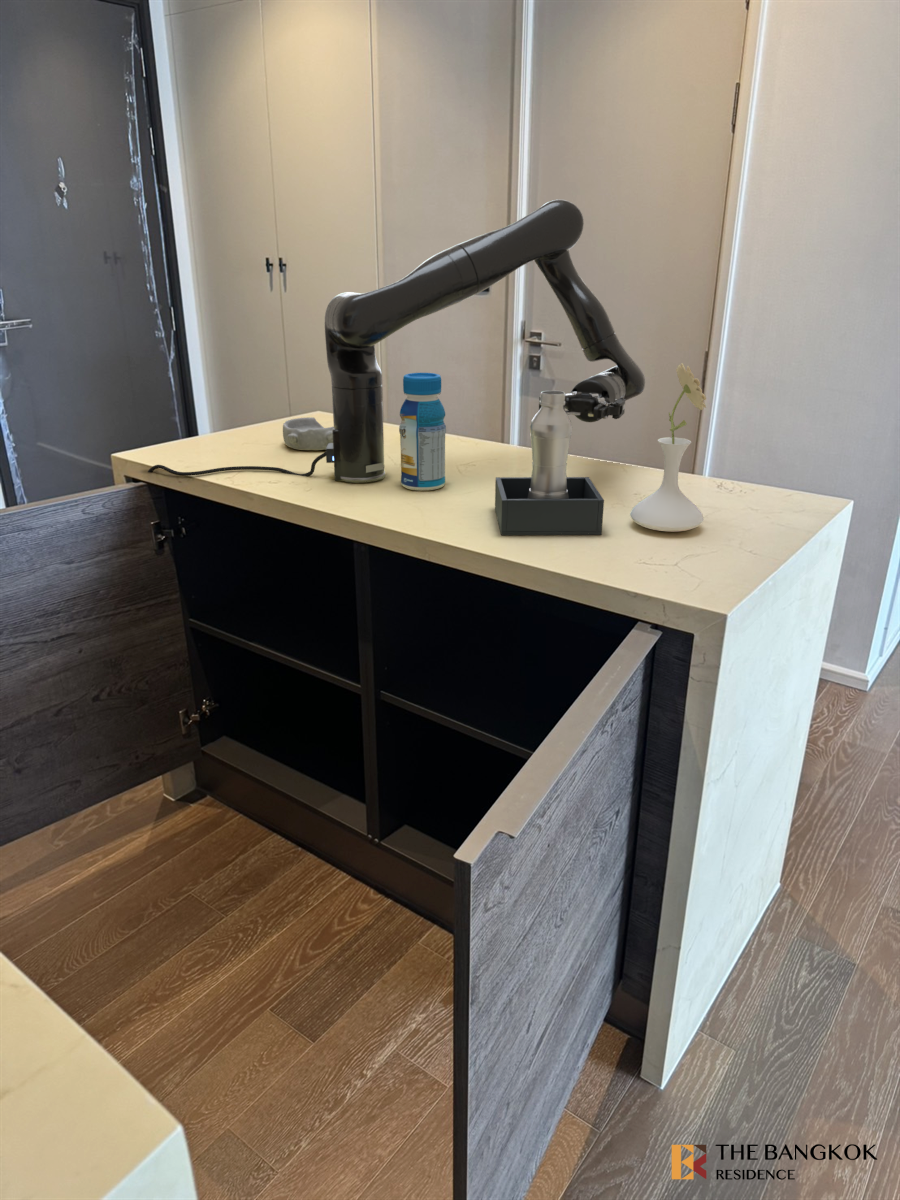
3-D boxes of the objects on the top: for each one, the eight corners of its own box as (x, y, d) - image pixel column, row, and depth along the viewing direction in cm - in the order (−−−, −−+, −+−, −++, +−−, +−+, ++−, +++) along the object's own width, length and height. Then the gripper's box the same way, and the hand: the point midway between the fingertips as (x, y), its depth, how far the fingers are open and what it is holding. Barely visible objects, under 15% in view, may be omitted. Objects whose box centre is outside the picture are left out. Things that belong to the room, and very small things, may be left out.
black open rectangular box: (501, 535, 133) (502, 500, 131) (494, 509, 146) (495, 477, 143) (601, 534, 133) (604, 500, 131) (586, 509, 146) (588, 476, 144)
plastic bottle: (570, 524, 136) (577, 396, 129) (527, 523, 136) (532, 395, 129) (565, 512, 142) (572, 389, 135) (524, 511, 142) (529, 388, 135)
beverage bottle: (439, 493, 155) (439, 379, 147) (394, 490, 156) (391, 377, 149) (450, 481, 162) (451, 372, 154) (407, 478, 164) (406, 370, 156)
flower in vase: (701, 541, 131) (722, 372, 121) (625, 534, 134) (640, 369, 124) (702, 516, 142) (722, 360, 133) (632, 510, 145) (646, 357, 136)
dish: (294, 437, 197) (292, 415, 195) (353, 439, 195) (352, 417, 193) (273, 452, 183) (271, 428, 181) (336, 454, 182) (335, 430, 180)
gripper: (559, 373, 158) (530, 386, 144) (636, 379, 152) (614, 392, 139) (556, 415, 160) (528, 431, 147) (632, 421, 155) (610, 439, 142)
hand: (570, 412), depth 143 cm, fingers open, 8 cm apart
